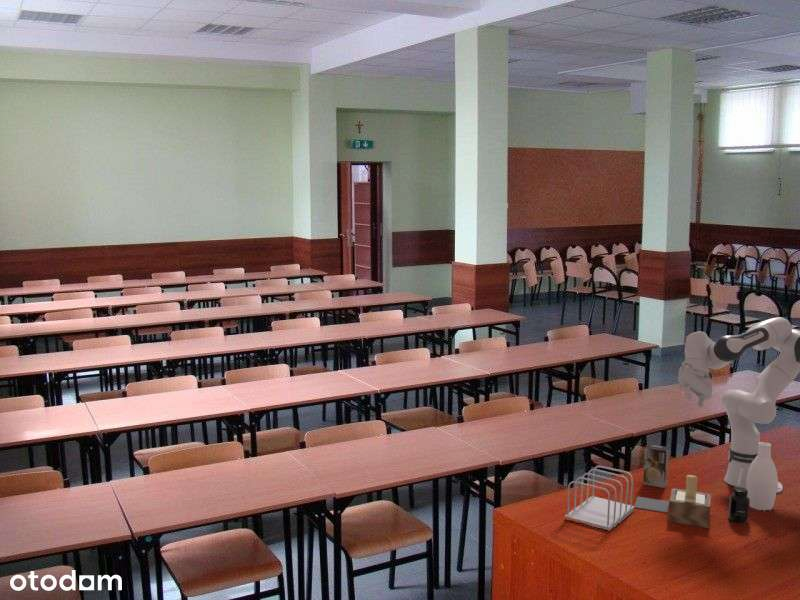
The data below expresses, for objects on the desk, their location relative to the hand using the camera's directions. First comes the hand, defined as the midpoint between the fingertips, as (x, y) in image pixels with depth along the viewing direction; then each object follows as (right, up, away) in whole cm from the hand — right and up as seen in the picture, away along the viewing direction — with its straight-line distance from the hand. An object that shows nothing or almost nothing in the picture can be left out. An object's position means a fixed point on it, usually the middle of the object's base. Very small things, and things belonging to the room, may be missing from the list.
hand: (694, 402), depth 302 cm
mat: (-17, -40, 0) cm, 44 cm away
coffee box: (-8, -38, +23) cm, 45 cm away
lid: (-6, -35, -13) cm, 38 cm away
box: (-7, -42, -12) cm, 44 cm away
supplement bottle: (+11, -43, -13) cm, 46 cm away
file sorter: (-40, -42, -11) cm, 59 cm away
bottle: (+26, -41, 0) cm, 49 cm away
